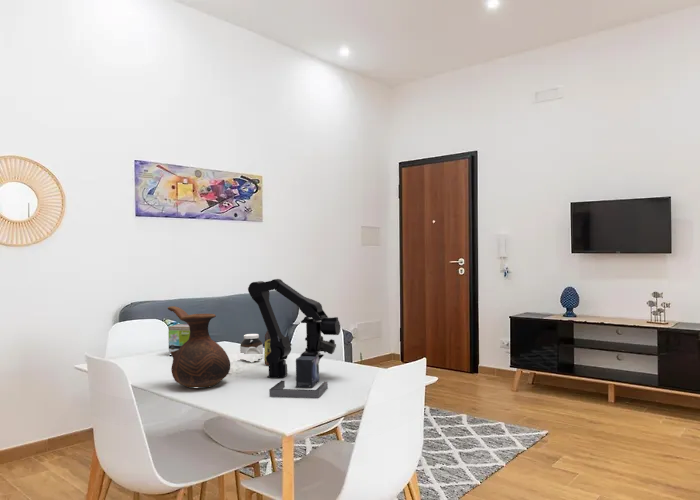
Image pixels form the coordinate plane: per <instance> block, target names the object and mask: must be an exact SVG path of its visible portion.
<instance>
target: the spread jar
mask: <svg viewBox="0 0 700 500" xmlns="http://www.w3.org/2000/svg"><path fill="white" fill-rule="evenodd" d="M263 345H264V344H263V341H262V340H261V339H260V335H259V333H246V334H244V335H243V340H242V341H241V343H240V344H239V346H240V347H239V352H240V353H244V354H263V355H264V346H263ZM240 353H239V354H240Z"/></svg>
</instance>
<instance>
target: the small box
mask: <svg viewBox="0 0 700 500" xmlns="http://www.w3.org/2000/svg"><path fill="white" fill-rule="evenodd" d="M319 382H320V361H319V357H318V358H317V359H316V357H313V356H299V357H297V358H296V359H295V388H303V389H304V388H305V389H307V388H309V389H312V388H313V387H314V386H316V385H317V384H318V383H319Z"/></svg>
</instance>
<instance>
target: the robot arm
mask: <svg viewBox="0 0 700 500" xmlns="http://www.w3.org/2000/svg"><path fill="white" fill-rule="evenodd" d="M247 290H248V291H247V292H248V293H249V295H250V297H251V299H252V300H253V301H254V303H256V305H257V306H258V309H259V310H260V314H261V317H262V319H263V322H264V325H265V327H266V331H267V330H268V333H269V336H270V348H271V352H270V353H269V354H268V356H267V357H266V360H267V363H269V365H268V375H267V378H270V379H271V378H273V379H275V378H276V379H283V378H285V377H286V376H287V375H288V364H287V363H286V362H287V359H288V357H289V355H290V353H291V351H292V346H293V344H292V343H291V341H290V337H289V335H287V336H284V335H283V333H282V331H281V329H280V326H279V323H278V320H277V318H276V315H275V313H274V309H273V307H272V305H271V302H270V292H271V291H274V290H275V291H276V292H278V293H279V294H280V295H282V296H283V297H285V298H286V299H287V300H289V301H291V302H292V303H293V304H294V305H296V306H297V307H298V308H299V310H300V312H302V314H303V315H304V317H303V319H302V320H301V321H300V323H301V324H305V325H306V326H305V328H306V331H305V332H306V333H305V334H306V336H305V338H304V341H305V342H306V348H305V351H303V352H301V354H299V355H300V356H313V357H316V359H317V358H318V357H319V362H320V360H321V359H323V357H324V356H325V354H321V352H324V353H327V354H329V355H333V353H335V351H336V348H337V344H336V342H335V339H333V338H331V339H329V340H324V337H323V336H322V334H323V335H325V336H339V335H340V333H341V329H342V328H341V323H340V320H339V317H338V316H334V317H329V316H328V315H327V314H326V312H325V311H324V309H323V305H322V304H321V302H319V301H317V300H314V299H311V298H309V297H306V296H304V295H302V294H301V293H300V292H298V291H297V290H296V289H294V288H293V287H291V286H290V285H289V284H287V283H285V282H284V281H283V280H282V279H281V278H275V279H272V280H268V281H264V280H263V281H262V280H259V281H253V282H251V283H250V284H249V285H248V287H247ZM300 356H299V357H300Z"/></svg>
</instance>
